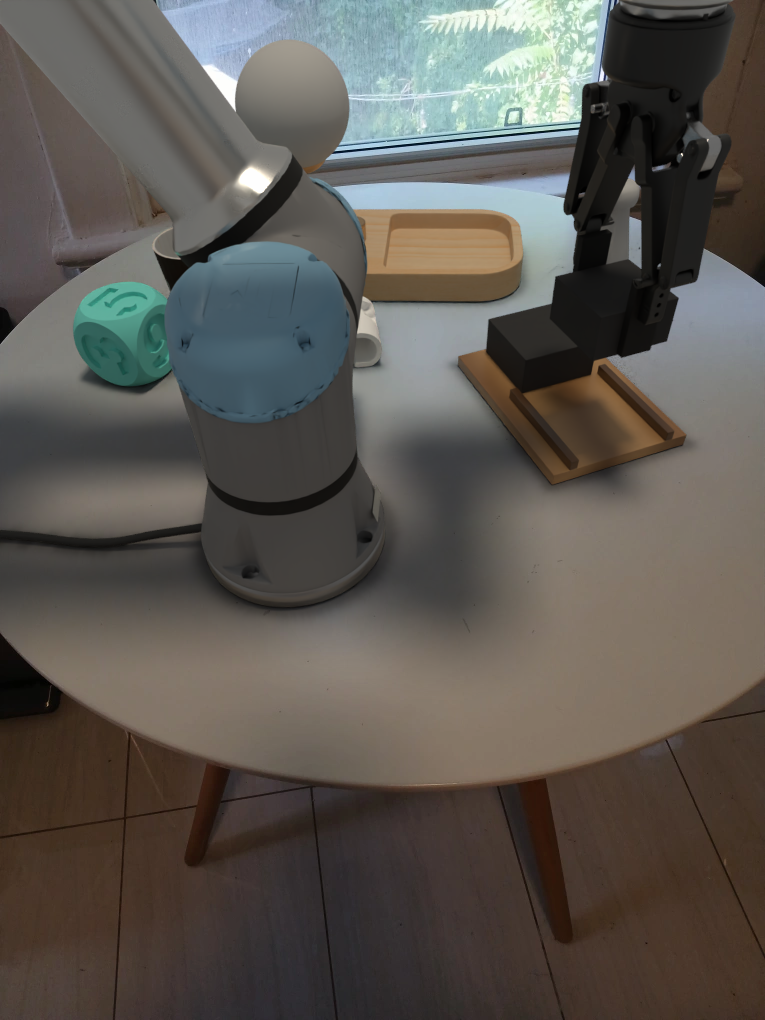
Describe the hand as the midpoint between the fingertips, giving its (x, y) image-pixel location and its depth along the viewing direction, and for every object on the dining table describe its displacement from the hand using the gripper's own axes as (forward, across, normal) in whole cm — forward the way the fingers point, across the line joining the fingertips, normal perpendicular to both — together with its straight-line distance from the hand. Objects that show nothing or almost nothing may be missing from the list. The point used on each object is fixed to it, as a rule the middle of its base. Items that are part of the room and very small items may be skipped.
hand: (607, 327), depth 61 cm
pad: (+11, +11, 0) cm, 15 cm away
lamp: (+12, +38, +6) cm, 40 cm away
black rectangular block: (0, 0, 0) cm, 0 cm away
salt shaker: (+12, +22, -15) cm, 30 cm away
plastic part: (+12, +23, +18) cm, 31 cm away
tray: (+12, +5, 0) cm, 13 cm away
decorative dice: (+12, +29, +39) cm, 50 cm away
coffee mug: (+12, +36, +29) cm, 47 cm away
